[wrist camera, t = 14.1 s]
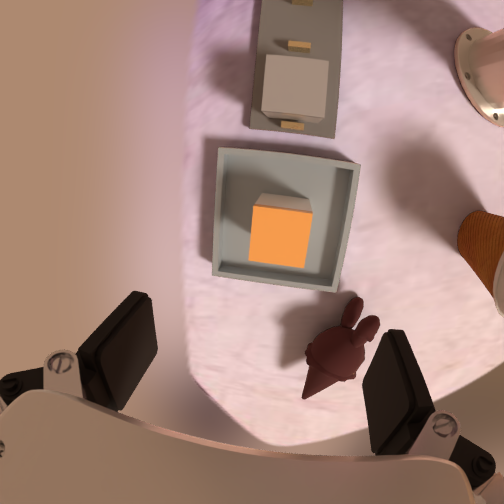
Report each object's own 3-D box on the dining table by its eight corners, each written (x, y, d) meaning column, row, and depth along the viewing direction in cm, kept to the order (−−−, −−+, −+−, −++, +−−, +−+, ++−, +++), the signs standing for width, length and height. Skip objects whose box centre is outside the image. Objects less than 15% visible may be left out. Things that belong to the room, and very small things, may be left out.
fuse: (321, 78, 22) (328, 61, 17) (318, 123, 24) (324, 117, 19) (272, 72, 23) (266, 54, 17) (268, 117, 25) (261, 110, 19)
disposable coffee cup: (432, 236, 27) (489, 286, 16) (482, 180, 23) (551, 205, 12) (466, 286, 28) (513, 342, 17) (510, 236, 25) (567, 275, 14)
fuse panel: (340, -40, 17) (343, -52, 14) (333, 138, 25) (336, 138, 23) (268, -47, 17) (266, -59, 15) (251, 129, 26) (246, 127, 24)
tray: (355, 162, 26) (360, 164, 24) (333, 282, 31) (336, 292, 28) (224, 146, 27) (218, 147, 25) (217, 266, 32) (211, 275, 30)
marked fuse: (309, 199, 27) (312, 213, 21) (302, 243, 29) (303, 268, 23) (262, 192, 27) (253, 205, 22) (257, 237, 29) (248, 260, 24)
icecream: (333, 419, 31) (406, 331, 26) (283, 417, 29) (356, 318, 24) (318, 382, 37) (377, 298, 32) (273, 376, 35) (330, 282, 31)
